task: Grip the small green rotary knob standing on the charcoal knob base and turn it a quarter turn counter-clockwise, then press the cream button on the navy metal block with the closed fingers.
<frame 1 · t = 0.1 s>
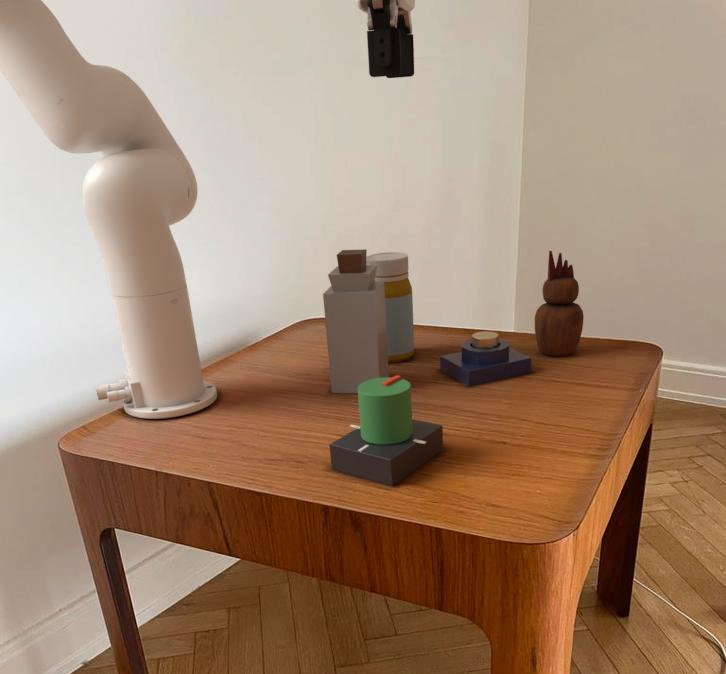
hand: (393, 76, 79), 37 cm above the table, tool pointing down, fingers open, 9 cm apart
button block: (484, 371, 105), on the table
knob base: (388, 459, 82), on the table
bottle: (391, 357, 115), on the table
perfume bottle: (360, 386, 104), on the table
button: (485, 341, 103), point 4 cm above the table, slide at 0.1 cm
green rotary knob: (385, 409, 79), point 6 cm above the table, hinge at 0.0°
wooden figurine: (556, 354, 111), on the table
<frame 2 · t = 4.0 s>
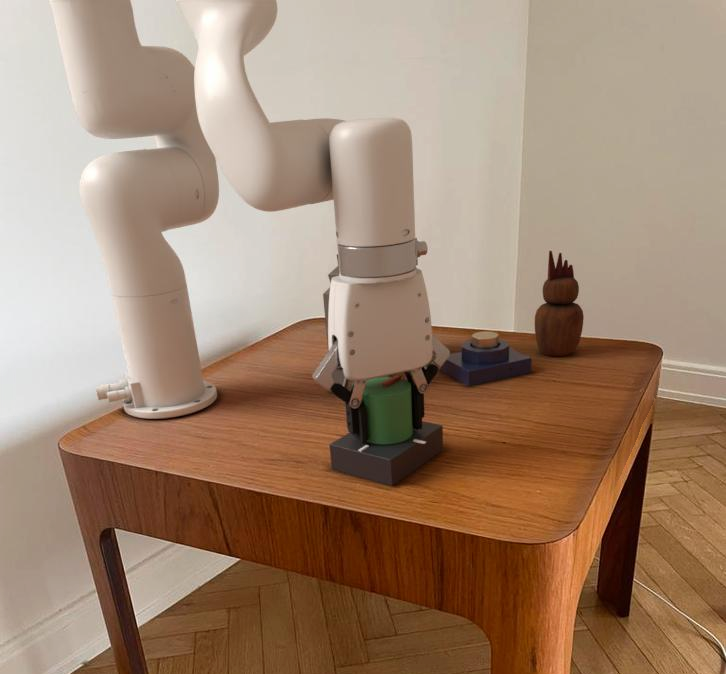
hand: (386, 430, 80), 4 cm above the table, tool pointing down, fingers closed on green rotary knob, 5 cm apart
green rotary knob: (385, 409, 79), point 6 cm above the table, hinge at 0.0°, touching gripper
everything else where it was.
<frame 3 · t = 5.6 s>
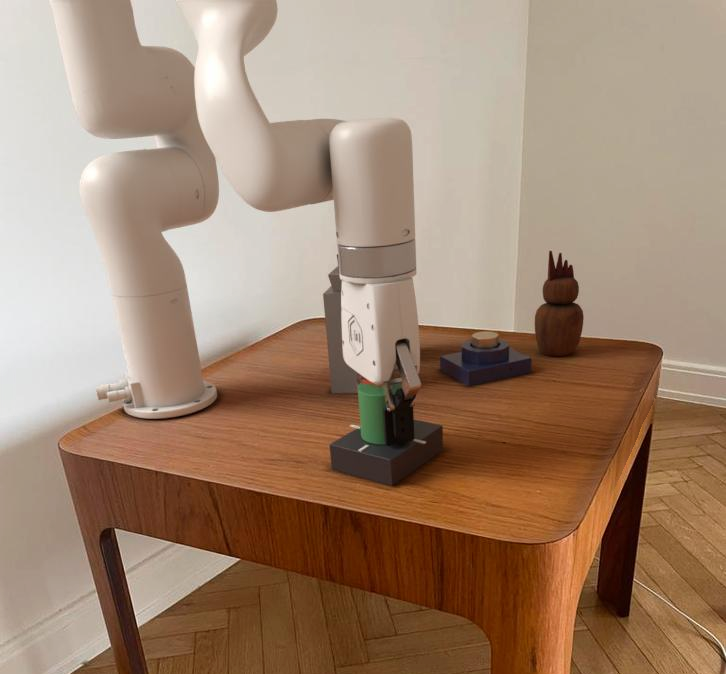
hand: (386, 430, 80), 4 cm above the table, tool pointing down, fingers closed on green rotary knob, 5 cm apart
green rotary knob: (385, 409, 79), point 6 cm above the table, hinge at 89.1°, touching gripper
everything else where it was.
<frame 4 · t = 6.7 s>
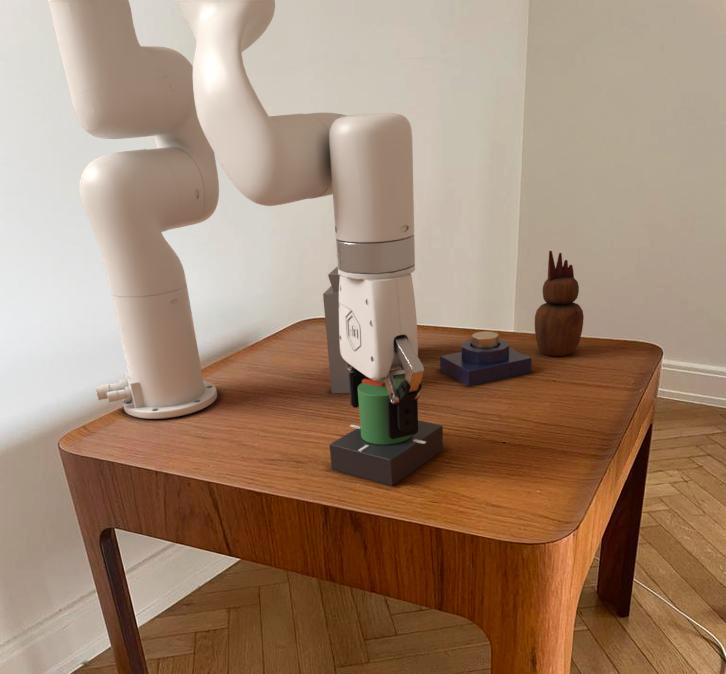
hand: (383, 419, 80), 5 cm above the table, tool pointing down, fingers open, 9 cm apart
green rotary knob: (385, 409, 79), point 6 cm above the table, hinge at 89.1°
everything else where it was.
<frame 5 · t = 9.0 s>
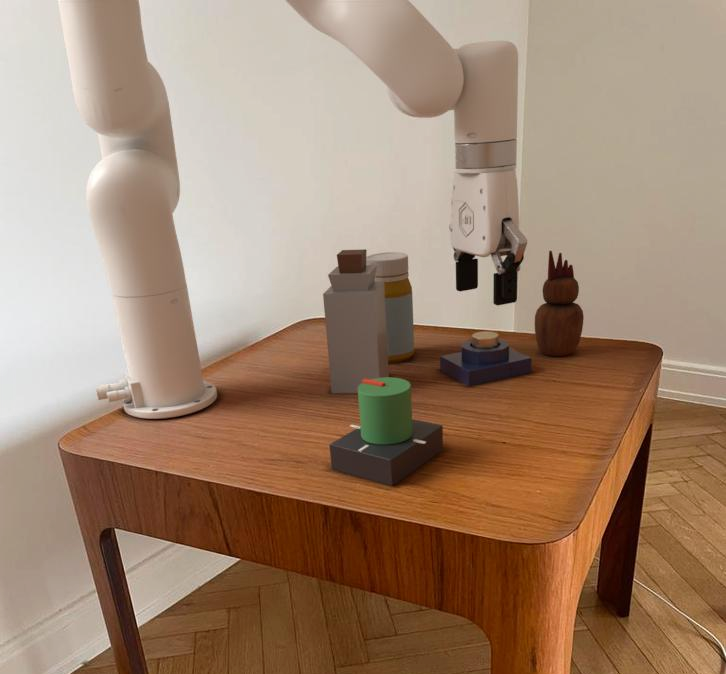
hand: (485, 296, 100), 11 cm above the table, tool pointing down, fingers open, 9 cm apart
nothing on the table moved.
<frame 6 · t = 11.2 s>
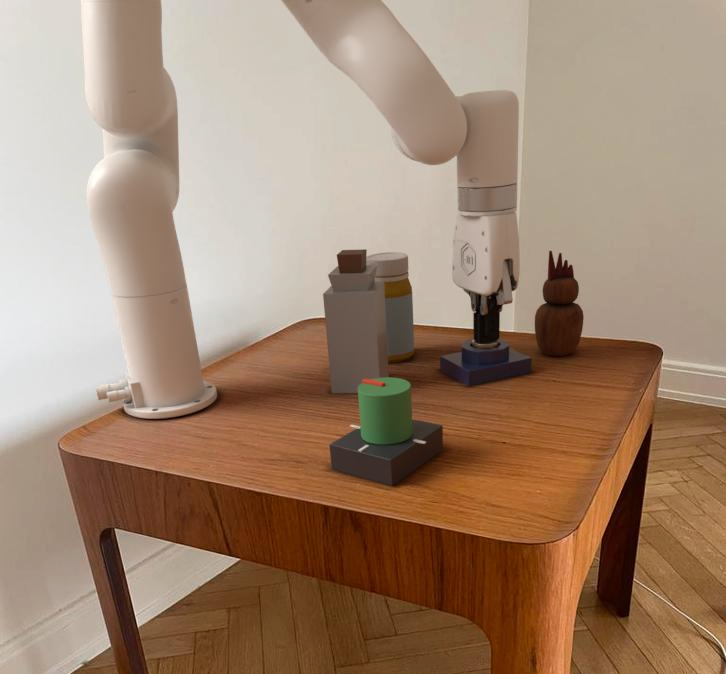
hand: (486, 340, 103), 5 cm above the table, tool pointing down, fingers closed
button: (485, 346, 104), point 4 cm above the table, slide at -0.7 cm, touching gripper
everything else where it was.
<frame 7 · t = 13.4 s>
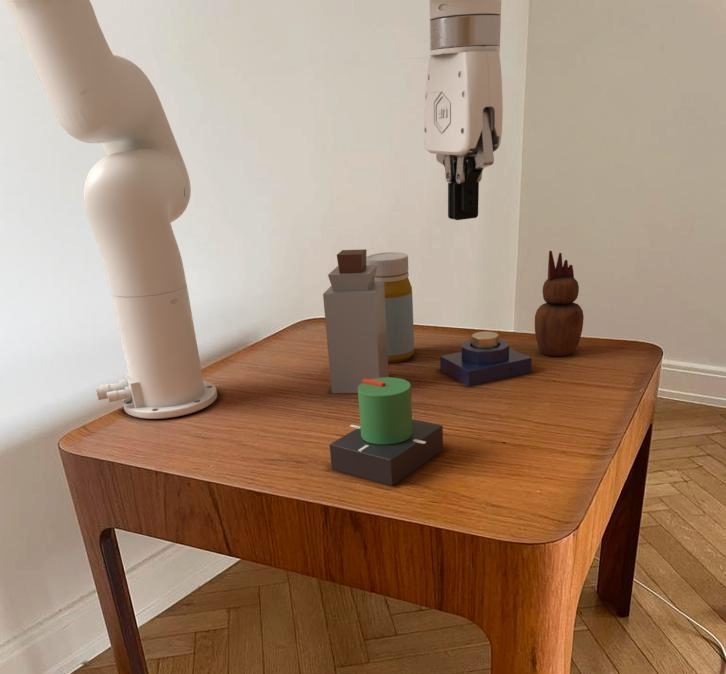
hand: (463, 217, 88), 22 cm above the table, tool pointing down, fingers closed
button: (485, 341, 103), point 4 cm above the table, slide at 0.1 cm
everything else where it was.
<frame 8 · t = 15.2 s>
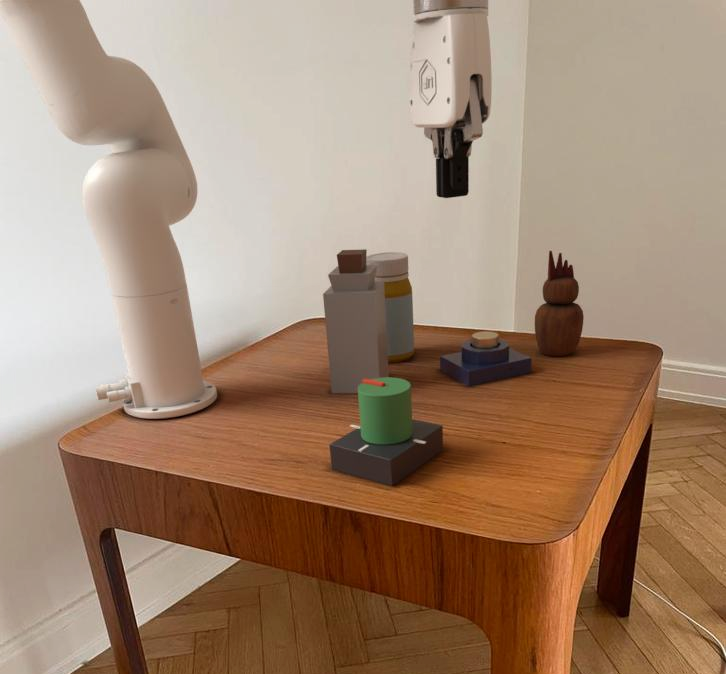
hand: (452, 195, 83), 25 cm above the table, tool pointing down, fingers closed
nothing on the table moved.
at the end: green rotary knob at +89° (first picture: +0°); button pushed in 1.1 cm at the most during the clip, back to where it started at the end; button slide at 0.1 cm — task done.
